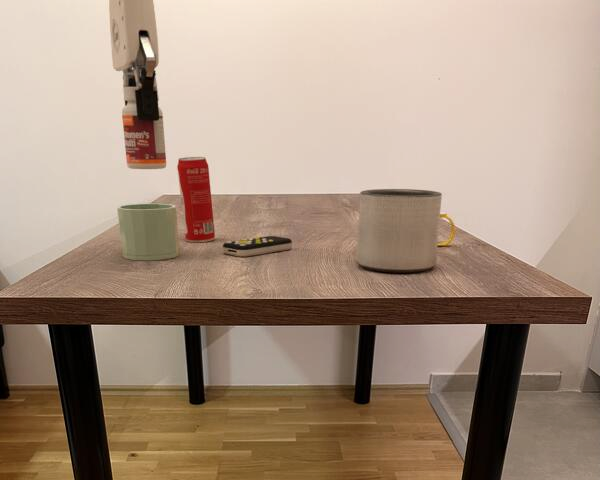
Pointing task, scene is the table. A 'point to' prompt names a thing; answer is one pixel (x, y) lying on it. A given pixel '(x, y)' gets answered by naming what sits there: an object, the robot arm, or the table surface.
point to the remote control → (257, 246)
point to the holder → (148, 231)
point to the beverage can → (196, 199)
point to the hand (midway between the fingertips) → (142, 119)
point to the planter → (398, 230)
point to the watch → (452, 229)
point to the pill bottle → (142, 136)
